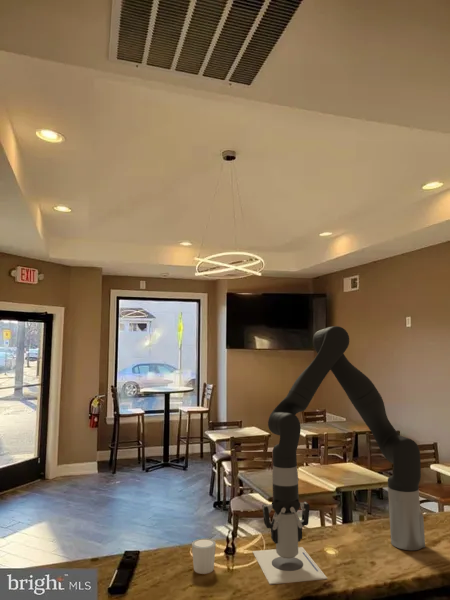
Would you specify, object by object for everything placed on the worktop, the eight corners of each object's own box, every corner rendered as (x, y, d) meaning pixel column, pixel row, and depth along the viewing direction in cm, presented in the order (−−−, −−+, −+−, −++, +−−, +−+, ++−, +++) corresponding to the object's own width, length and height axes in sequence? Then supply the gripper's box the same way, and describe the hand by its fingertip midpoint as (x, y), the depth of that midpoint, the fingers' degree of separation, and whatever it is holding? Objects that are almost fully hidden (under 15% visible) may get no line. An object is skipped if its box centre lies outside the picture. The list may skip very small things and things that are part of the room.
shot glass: (197, 577, 122) (197, 549, 123) (187, 566, 128) (187, 540, 129) (220, 571, 125) (219, 544, 126) (209, 561, 131) (209, 536, 132)
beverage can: (297, 550, 132) (296, 507, 133) (299, 560, 126) (297, 515, 127) (276, 549, 133) (275, 507, 134) (276, 559, 126) (275, 514, 128)
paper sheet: (302, 547, 140) (302, 546, 140) (327, 578, 120) (327, 577, 120) (252, 552, 137) (252, 550, 137) (269, 584, 118) (269, 582, 118)
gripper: (304, 476, 136) (306, 534, 134) (258, 479, 134) (259, 538, 132) (313, 483, 129) (315, 544, 127) (264, 486, 127) (266, 548, 125)
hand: (286, 541), depth 129 cm, fingers closed on beverage can, 6 cm apart
